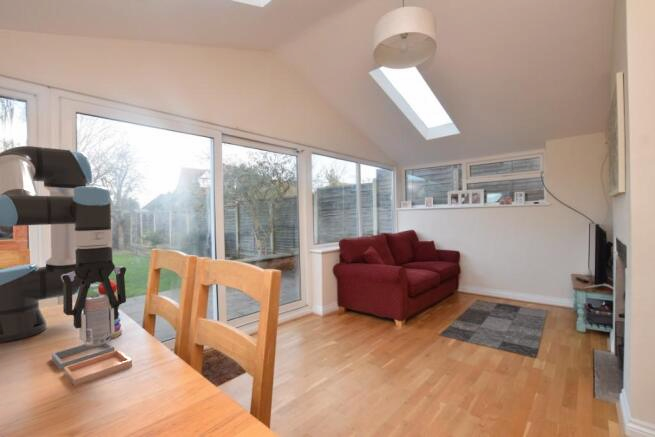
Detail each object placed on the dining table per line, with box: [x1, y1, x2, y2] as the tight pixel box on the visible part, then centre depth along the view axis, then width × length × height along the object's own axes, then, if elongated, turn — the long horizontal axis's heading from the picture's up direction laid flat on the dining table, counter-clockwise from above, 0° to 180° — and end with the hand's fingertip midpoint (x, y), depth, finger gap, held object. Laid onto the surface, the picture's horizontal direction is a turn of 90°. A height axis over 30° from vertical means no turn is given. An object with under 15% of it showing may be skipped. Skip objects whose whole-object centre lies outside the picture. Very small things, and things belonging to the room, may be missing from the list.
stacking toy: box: [97, 279, 123, 340], centre depth 100 cm, size 8×8×19 cm
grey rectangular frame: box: [51, 341, 115, 371], centre depth 86 cm, size 10×12×2 cm
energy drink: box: [82, 293, 111, 347], centre depth 78 cm, size 5×5×12 cm
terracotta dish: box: [63, 349, 133, 388], centre depth 78 cm, size 10×12×2 cm
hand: (97, 335), depth 78 cm, fingers closed on energy drink, 5 cm apart
